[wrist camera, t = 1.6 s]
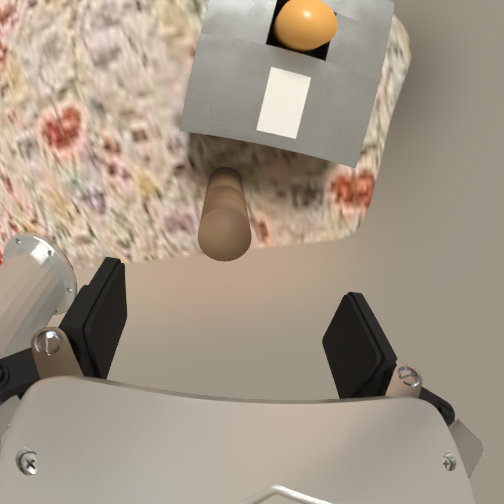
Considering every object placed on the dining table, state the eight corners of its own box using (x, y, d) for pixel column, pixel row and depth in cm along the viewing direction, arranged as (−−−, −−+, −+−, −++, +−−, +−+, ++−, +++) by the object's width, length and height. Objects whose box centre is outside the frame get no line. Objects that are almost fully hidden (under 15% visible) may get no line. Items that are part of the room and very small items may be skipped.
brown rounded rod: (223, 204, 29) (223, 270, 18) (202, 182, 27) (186, 236, 17) (248, 184, 28) (262, 239, 18) (226, 160, 27) (226, 202, 16)
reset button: (315, 59, 19) (331, 52, 15) (266, 46, 18) (274, 36, 15) (324, 20, 17) (342, 7, 14) (277, 6, 16) (286, -10, 13)
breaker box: (331, 154, 27) (356, 168, 22) (189, 124, 25) (179, 131, 19) (365, 16, 20) (395, 2, 14) (226, -23, 17) (226, -50, 12)
